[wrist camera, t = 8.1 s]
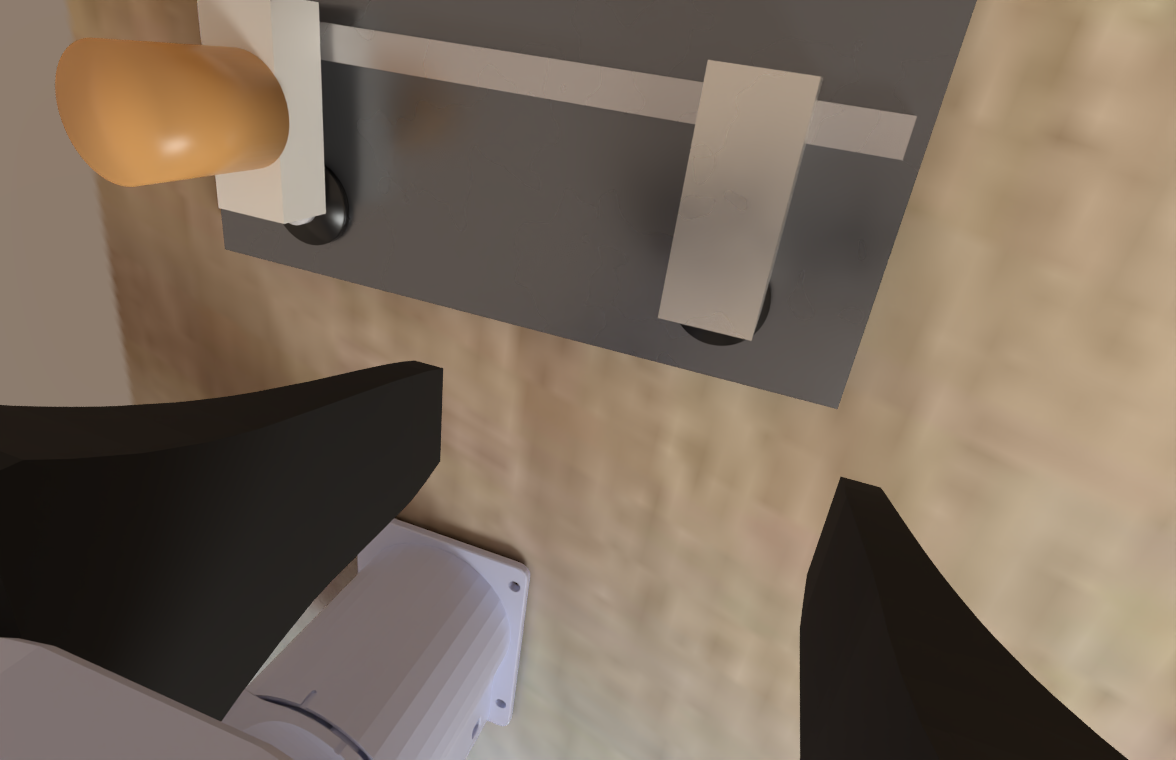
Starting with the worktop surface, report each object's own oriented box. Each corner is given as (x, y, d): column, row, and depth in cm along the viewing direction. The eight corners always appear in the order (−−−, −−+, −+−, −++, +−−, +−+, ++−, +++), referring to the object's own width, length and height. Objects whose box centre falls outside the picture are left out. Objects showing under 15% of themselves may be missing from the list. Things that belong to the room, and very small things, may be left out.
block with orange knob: (343, 232, 22) (184, 279, 17) (262, 213, 23) (85, 252, 18) (337, 5, 19) (143, -27, 14) (245, -9, 20) (28, -45, 15)
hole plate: (837, 392, 21) (837, 458, 17) (249, 242, 26) (153, 268, 22) (975, -18, 16) (1016, -49, 12) (220, -103, 21) (90, -142, 17)
